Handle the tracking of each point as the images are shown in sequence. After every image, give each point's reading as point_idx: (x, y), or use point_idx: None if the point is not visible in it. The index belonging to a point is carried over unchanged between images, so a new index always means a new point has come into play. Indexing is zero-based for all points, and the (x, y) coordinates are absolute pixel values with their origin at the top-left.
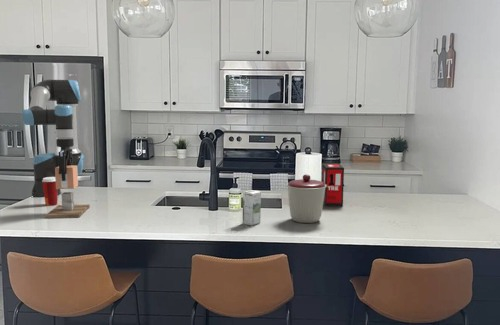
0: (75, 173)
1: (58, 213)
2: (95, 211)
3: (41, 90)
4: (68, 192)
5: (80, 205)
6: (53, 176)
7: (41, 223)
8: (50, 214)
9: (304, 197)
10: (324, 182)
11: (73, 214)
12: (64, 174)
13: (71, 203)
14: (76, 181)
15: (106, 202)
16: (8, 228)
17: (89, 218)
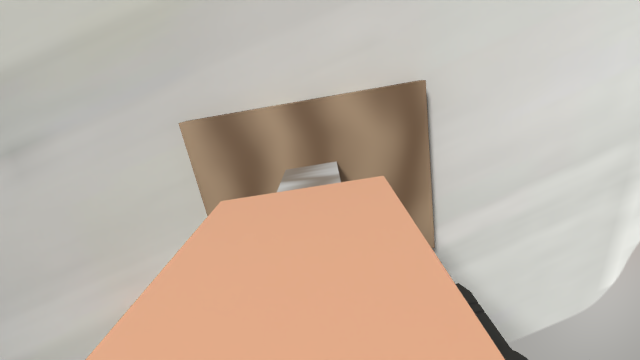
0: (273, 272)
1: (405, 201)
2: (276, 42)
3: None
4: None
5: (216, 165)
6: None
7: (521, 215)
8: (424, 230)
9: None
10: None
11: (426, 113)
12: (513, 354)
13: (338, 174)
14: (263, 215)
15: (39, 66)
16: (582, 300)
17: (443, 8)
